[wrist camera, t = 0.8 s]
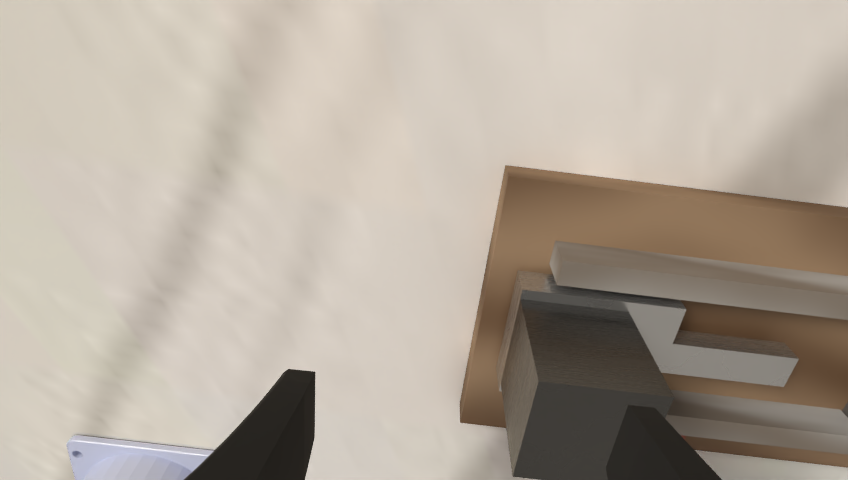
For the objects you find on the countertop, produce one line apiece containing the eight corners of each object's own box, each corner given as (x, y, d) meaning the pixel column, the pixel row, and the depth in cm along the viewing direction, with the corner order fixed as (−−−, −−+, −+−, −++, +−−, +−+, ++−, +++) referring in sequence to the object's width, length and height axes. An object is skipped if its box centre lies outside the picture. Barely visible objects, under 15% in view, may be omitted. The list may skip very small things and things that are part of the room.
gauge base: (849, 449, 26) (958, 578, 20) (459, 403, 26) (462, 522, 20) (996, 225, 21) (1197, 319, 15) (505, 165, 20) (526, 237, 15)
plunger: (725, 449, 24) (800, 579, 19) (484, 421, 24) (494, 544, 19) (799, 304, 21) (916, 414, 16) (517, 270, 21) (541, 370, 15)
